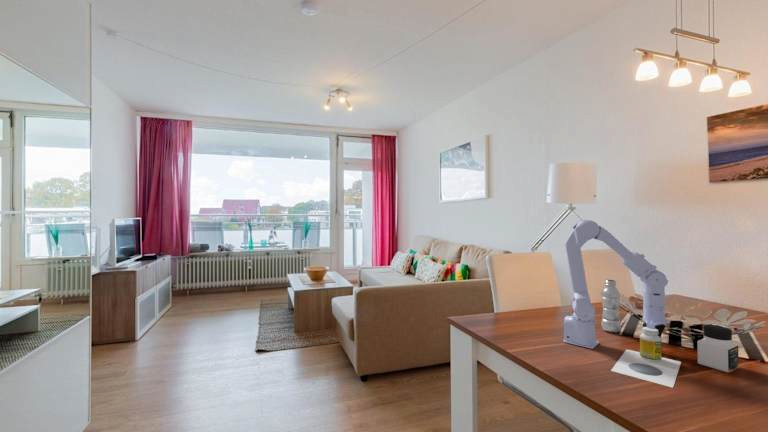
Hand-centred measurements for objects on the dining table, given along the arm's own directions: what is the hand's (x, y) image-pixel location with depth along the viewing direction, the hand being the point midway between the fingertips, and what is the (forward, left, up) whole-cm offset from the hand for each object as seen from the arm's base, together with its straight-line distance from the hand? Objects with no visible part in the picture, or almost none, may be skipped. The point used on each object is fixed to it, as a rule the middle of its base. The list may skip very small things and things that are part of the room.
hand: (654, 346), depth 112 cm
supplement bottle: (0, -8, -2) cm, 8 cm away
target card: (0, -15, -2) cm, 15 cm away
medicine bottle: (+15, 0, -2) cm, 15 cm away
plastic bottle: (-15, +13, -2) cm, 20 cm away
